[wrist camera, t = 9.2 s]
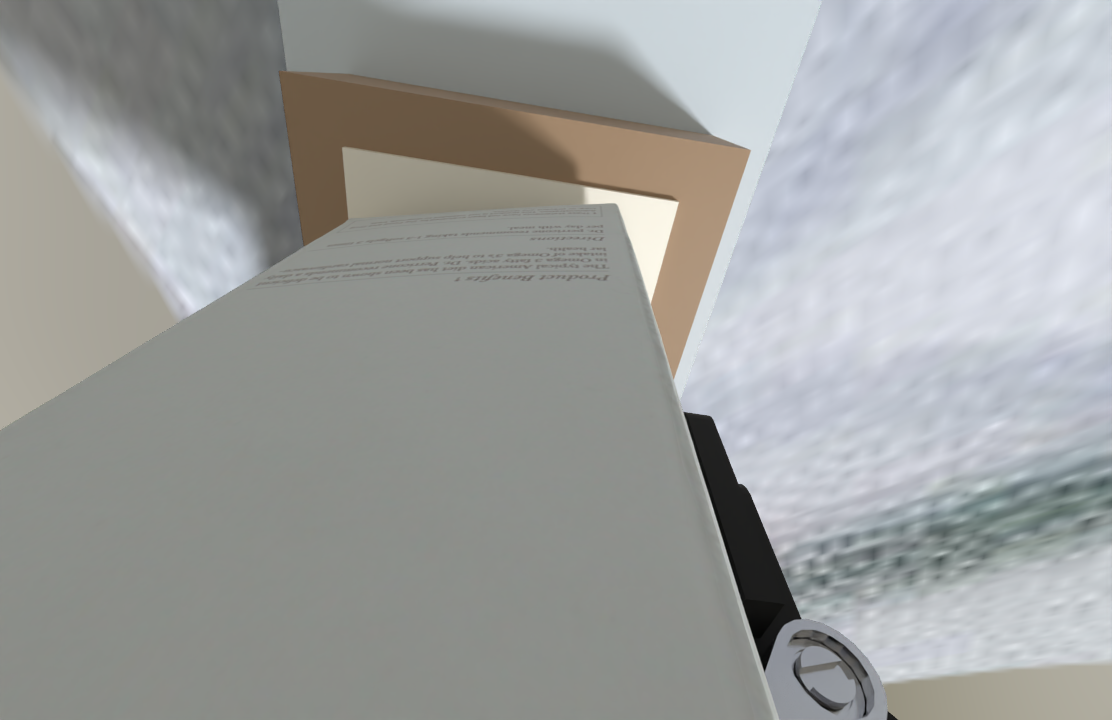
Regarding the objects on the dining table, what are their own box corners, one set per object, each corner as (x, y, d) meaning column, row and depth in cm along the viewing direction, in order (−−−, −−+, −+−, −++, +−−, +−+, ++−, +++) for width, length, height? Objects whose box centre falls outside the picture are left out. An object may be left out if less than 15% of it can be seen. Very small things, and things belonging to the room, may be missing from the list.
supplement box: (409, 429, 16) (31, 1171, 5) (345, 210, 12) (-1751, 1339, 1) (625, 428, 15) (714, 1264, 4) (630, 197, 11) (1345, 2130, 1)
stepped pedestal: (282, -96, 13) (135, -185, 9) (809, -1, 14) (916, -40, 10) (345, 427, 24) (291, 506, 19) (647, 469, 24) (663, 556, 20)
